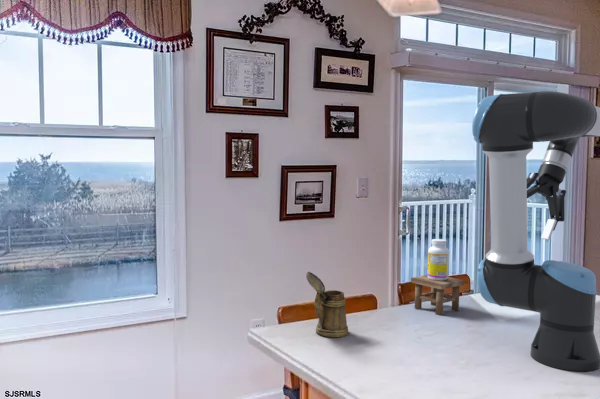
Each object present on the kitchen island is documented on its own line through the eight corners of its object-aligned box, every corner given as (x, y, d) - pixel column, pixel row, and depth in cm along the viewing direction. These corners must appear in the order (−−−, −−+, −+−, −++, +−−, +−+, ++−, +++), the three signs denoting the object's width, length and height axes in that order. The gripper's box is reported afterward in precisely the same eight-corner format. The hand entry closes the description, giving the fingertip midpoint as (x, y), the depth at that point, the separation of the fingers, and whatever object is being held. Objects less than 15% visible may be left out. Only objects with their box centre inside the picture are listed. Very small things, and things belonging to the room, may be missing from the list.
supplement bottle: (432, 276, 176) (434, 238, 175) (451, 279, 172) (453, 240, 171) (423, 279, 171) (425, 239, 170) (442, 282, 167) (444, 241, 166)
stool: (440, 316, 163) (441, 284, 163) (410, 307, 173) (411, 277, 172) (463, 310, 171) (464, 280, 170) (433, 302, 180) (434, 273, 180)
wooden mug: (296, 334, 143) (297, 268, 142) (333, 326, 151) (335, 264, 150) (317, 343, 136) (318, 274, 135) (355, 334, 144) (357, 269, 143)
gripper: (571, 184, 170) (548, 244, 168) (516, 150, 162) (491, 213, 160) (591, 184, 163) (567, 247, 161) (534, 148, 155) (509, 214, 153)
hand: (529, 230), depth 160 cm, fingers open, 13 cm apart
